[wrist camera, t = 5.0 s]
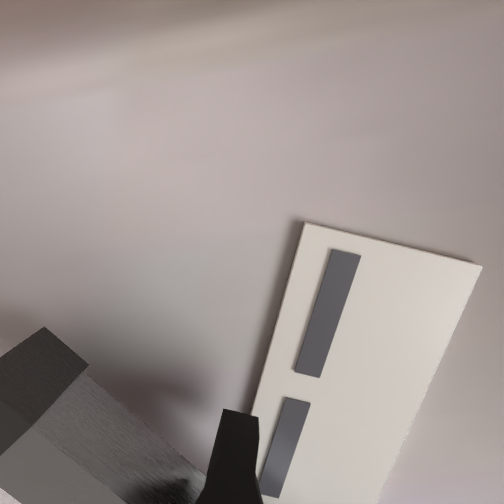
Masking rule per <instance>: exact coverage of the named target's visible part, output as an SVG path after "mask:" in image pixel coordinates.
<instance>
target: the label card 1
mask: <svg viewBox="0 0 504 504" xmlns="http://www.w3.org/2000/svg"><path fill="white" fill-rule="evenodd" d="M250 415H252V416H256V417H258V418H259V437H260V439H259V447H258V455H257V464H256V476H257V480H258V484H259V488H260V492H261V496H262V500H263V503H264V504H376V503H377V501H378V498H379V496H380V494H381V492H382V489H383V487H384V485H385V483H386V481H387V478H388V476H389V474H390V472H391V470H392V467H393V465H394V463H395V461H396V458H397V456H398V454H399V452H400V450H401V447H402V445H403V443H404V441H405V438H406V436H407V434H408V432H409V430H410V427H411V425H412V423H413V421H414V419H415V416H416V414H415V413H411V412H407V411H402V410H398V409H394V408H390V407H386V406H381V405H377V404H373V403H369V402H365V401H360V400H356V399H352V398H348V397H344V396H340V395H335V394H331V393H327V392H323V391H319V390H314V389H310V388H306V387H302V386H298V385H293V384H289V383H285V382H281V381H277V380H272V379H268V378H264V377H262V374H261V377H260V381H259V384H258V388H257V391H256V395H255V399H254V402H253V406H252V409H251V413H250Z"/></svg>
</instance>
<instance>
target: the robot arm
mask: <svg viewBox="0 0 504 504" xmlns="http://www.w3.org/2000/svg"><path fill="white" fill-rule="evenodd" d="M259 439H260V437H259V418H258V417H256V416H252V415H248V414H244V413H240V412H236V411H232V410H228V409H223V412H222V416H221V420H220V424H219V428H218V432H217V435H216V439H215V443H214V447H213V451H212V455H211V459H210V463H209V467H208V472H207V476H206V481H205V485H204V488H203V490H202V491H201V493H200V495H199V497H198V499H197V500H196V502H195V504H264V503H263V500H262V496H261V492H260V488H259V484H258V480H257V476H256V464H257V455H258V447H259Z"/></svg>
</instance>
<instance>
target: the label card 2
mask: <svg viewBox="0 0 504 504" xmlns="http://www.w3.org/2000/svg"><path fill="white" fill-rule="evenodd" d="M482 268H483V266H481V265H479V264H476V263H473V262H469V261H464V260H460V259H456V258H452V257H448V256H444V255H440V254H436V253H432V252H427V251H423V250H419V249H415V248H411V247H407V246H403V245H399V244H394V243H390V242H386V241H382V240H378V239H374V238H370V237H366V236H362V235H357V234H353V233H349V232H345V231H341V230H337V229H333V228H329V227H324V226H320V225H316V224H312V223H308V222H304V225H303V229H302V232H301V236H300V239H299V243H298V246H297V250H296V253H295V257H294V260H293V264H292V267H291V271H290V275H289V278H288V282H287V285H286V289H285V292H284V296H283V299H282V303H281V306H280V310H279V314H278V317H277V321H276V324H275V328H274V331H273V335H272V338H271V342H270V345H269V349H268V352H267V356H266V360H265V363H264V367H263V370H262V377H264V378H268V379H272V380H277V381H281V382H285V383H289V384H293V385H298V386H302V387H306V388H310V389H314V390H319V391H323V392H327V393H331V394H335V395H340V396H344V397H348V398H352V399H356V400H360V401H365V402H369V403H373V404H377V405H381V406H386V407H390V408H394V409H398V410H402V411H407V412H411V413H415V414H417V412H418V410H419V407H420V405H421V403H422V401H423V399H424V396H425V394H426V392H427V390H428V387H429V385H430V383H431V381H432V379H433V376H434V374H435V372H436V370H437V368H438V365H439V363H440V361H441V359H442V356H443V354H444V352H445V350H446V348H447V345H448V343H449V341H450V339H451V336H452V334H453V332H454V330H455V328H456V325H457V323H458V321H459V319H460V317H461V314H462V312H463V310H464V308H465V305H466V303H467V301H468V299H469V297H470V294H471V292H472V290H473V288H474V285H475V283H476V281H477V279H478V277H479V274H480V272H481V270H482Z"/></svg>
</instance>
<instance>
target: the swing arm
mask: <svg viewBox="0 0 504 504" xmlns="http://www.w3.org/2000/svg"><path fill="white" fill-rule="evenodd" d="M88 365H89V364H87V363H86V362H85V361H84V360H83V359H82V358H80V357H79V356H78V355H77V354H76V353H75V352H73V351H72V350H71V349H70V348H69V347H68V346H66V345H65V344H64V343H63V342H62V341H61V340H59V339H58V338H57V337H56V336H55V335H54V334H52V333H51V332H50V331H49V330H48V329H47V328H45V327H43V328H42V329H40V330H39V331H37V332H36V333H35V334H33V335H32V336H30V337H29V338H27V339H26V340H24V341H23V342H22V343H20V344H19V345H17V346H16V347H14V348H13V349H12V350H10V351H9V352H7V353H6V354H4V355H3V356H2V357H0V488H2V489H3V490H4V491H6V492H7V493H8V494H10V495H11V496H12V497H14V498H15V499H16V500H18V501H19V502H20V503H22V504H195V502H196V500H197V499H198V497H199V495H200V493H201V491H202V490H203V488H204V485H205V481H206V476H205V475H204V474H203V473H202V472H200V471H199V470H198V469H197V468H196V467H195V466H193V465H192V464H191V463H190V462H189V461H187V460H186V459H185V458H184V457H183V456H182V455H180V454H179V453H178V452H177V451H176V450H175V449H173V448H172V447H171V446H170V445H169V444H168V443H166V442H165V441H164V440H163V439H162V438H160V437H159V436H158V435H157V434H156V433H155V432H153V431H152V430H151V429H150V428H149V427H148V426H146V425H145V424H144V423H143V422H142V421H141V420H139V419H138V418H137V417H136V416H135V415H134V414H132V413H131V412H130V411H129V410H128V409H126V408H125V407H124V406H123V405H122V404H121V403H119V402H118V401H117V400H116V399H115V398H114V397H112V396H111V395H110V394H109V393H108V392H107V391H105V390H104V389H103V388H102V387H101V386H99V385H98V384H97V383H96V382H95V381H94V380H92V379H91V378H90V377H89V376H88V375H87V374H85V373H84V372H83V371H84V369H85V368H86V367H87V366H88Z"/></svg>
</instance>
